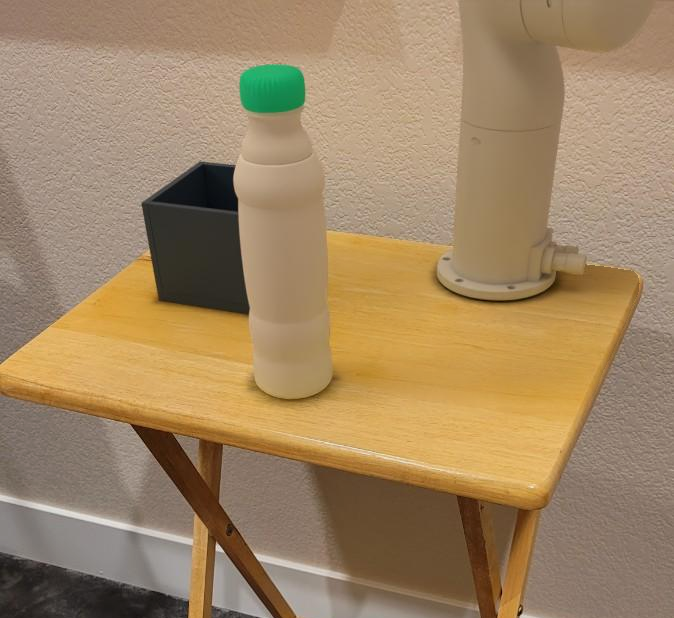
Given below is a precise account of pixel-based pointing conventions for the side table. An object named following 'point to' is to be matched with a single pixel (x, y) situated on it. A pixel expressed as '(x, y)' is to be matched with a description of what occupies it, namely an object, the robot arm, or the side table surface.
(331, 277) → the side table surface
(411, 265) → the side table surface
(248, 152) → the water bottle
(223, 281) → the bin
